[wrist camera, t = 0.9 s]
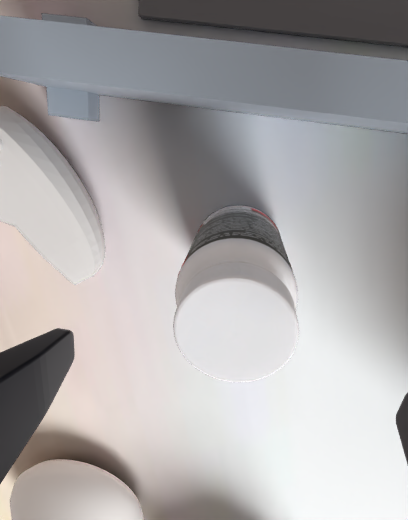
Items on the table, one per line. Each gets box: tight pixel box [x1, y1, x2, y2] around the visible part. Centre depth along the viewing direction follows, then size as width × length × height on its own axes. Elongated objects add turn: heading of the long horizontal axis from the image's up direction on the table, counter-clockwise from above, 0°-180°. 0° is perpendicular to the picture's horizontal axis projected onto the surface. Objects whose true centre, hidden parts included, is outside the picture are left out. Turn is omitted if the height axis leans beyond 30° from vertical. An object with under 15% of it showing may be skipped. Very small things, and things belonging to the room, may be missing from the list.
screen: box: [0, 13, 408, 134], centre depth 12 cm, size 20×4×6 cm, turn 83°
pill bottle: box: [173, 206, 299, 382], centre depth 14 cm, size 5×5×8 cm
